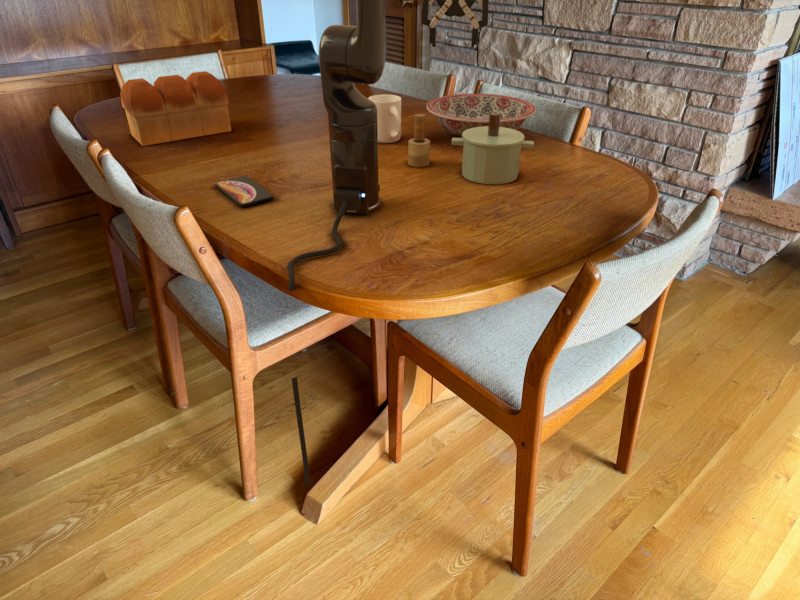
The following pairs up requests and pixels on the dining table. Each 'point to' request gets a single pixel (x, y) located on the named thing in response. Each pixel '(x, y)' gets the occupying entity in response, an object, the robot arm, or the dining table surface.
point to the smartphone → (244, 191)
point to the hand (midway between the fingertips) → (453, 46)
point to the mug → (388, 117)
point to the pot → (491, 162)
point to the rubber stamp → (419, 144)
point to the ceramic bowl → (478, 111)
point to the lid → (493, 134)
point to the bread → (175, 107)
